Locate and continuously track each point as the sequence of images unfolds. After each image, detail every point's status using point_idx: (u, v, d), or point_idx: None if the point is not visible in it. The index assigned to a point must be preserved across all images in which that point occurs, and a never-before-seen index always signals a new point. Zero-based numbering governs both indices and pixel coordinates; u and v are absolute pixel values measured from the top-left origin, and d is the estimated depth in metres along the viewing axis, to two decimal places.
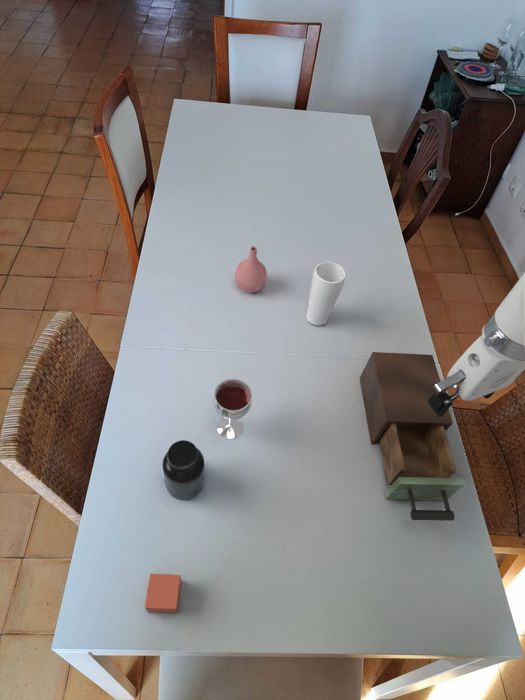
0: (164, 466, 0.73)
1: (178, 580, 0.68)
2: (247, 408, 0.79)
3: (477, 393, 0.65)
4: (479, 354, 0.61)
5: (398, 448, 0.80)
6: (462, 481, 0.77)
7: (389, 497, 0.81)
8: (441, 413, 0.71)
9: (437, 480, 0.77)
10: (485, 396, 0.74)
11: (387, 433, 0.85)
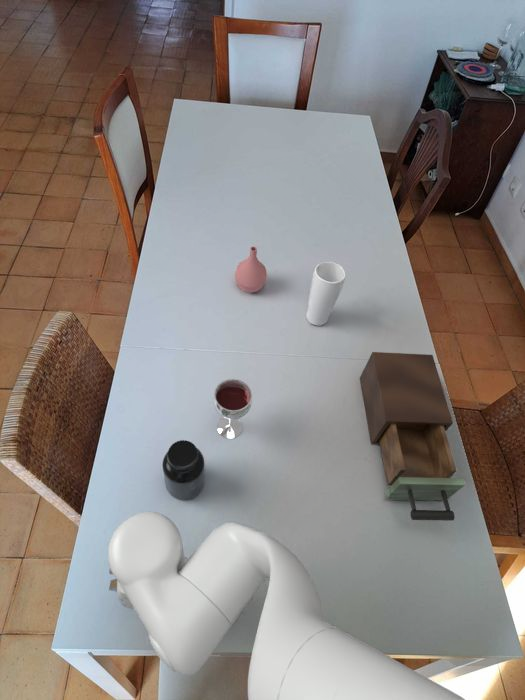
0: (164, 466, 0.73)
1: None
2: (247, 408, 0.79)
3: (132, 606, 0.61)
4: None
5: (398, 448, 0.80)
6: (462, 481, 0.77)
7: (389, 497, 0.81)
8: None
9: (437, 480, 0.77)
10: None
11: (387, 433, 0.85)
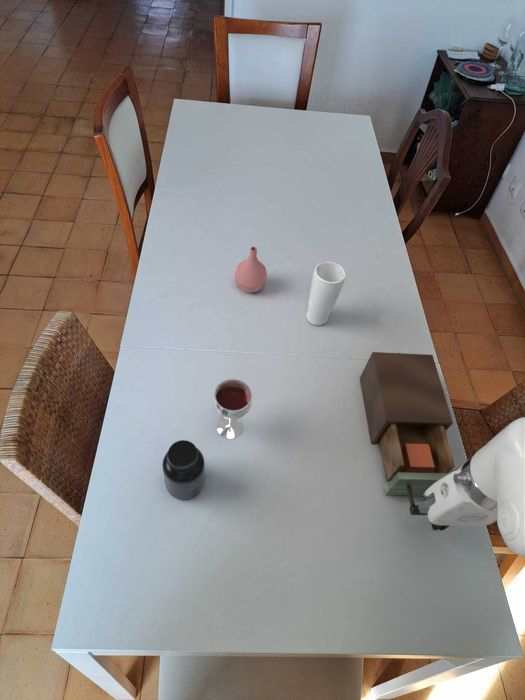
0: (164, 466, 0.73)
1: (429, 447, 0.83)
2: (247, 408, 0.79)
3: (444, 521, 0.66)
4: (449, 486, 0.62)
5: (397, 444, 0.80)
6: None
7: (388, 492, 0.82)
8: (435, 527, 0.73)
9: (436, 475, 0.77)
10: None
11: (386, 429, 0.85)
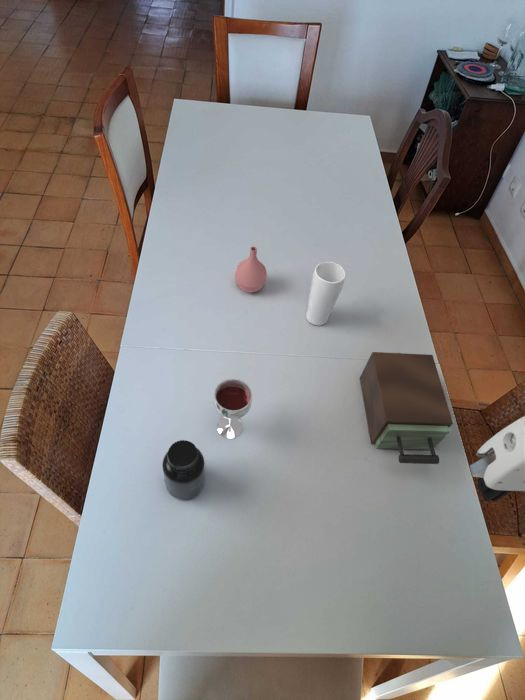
0: (164, 466, 0.73)
1: None
2: (247, 408, 0.79)
3: (506, 483, 0.52)
4: (517, 436, 0.48)
5: None
6: (447, 428, 0.83)
7: (379, 445, 0.87)
8: (487, 497, 0.59)
9: (423, 427, 0.83)
10: None
11: None
